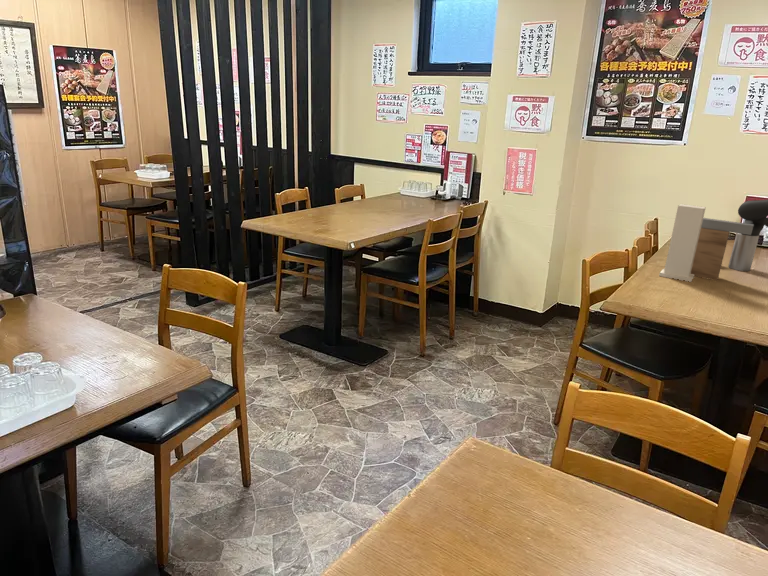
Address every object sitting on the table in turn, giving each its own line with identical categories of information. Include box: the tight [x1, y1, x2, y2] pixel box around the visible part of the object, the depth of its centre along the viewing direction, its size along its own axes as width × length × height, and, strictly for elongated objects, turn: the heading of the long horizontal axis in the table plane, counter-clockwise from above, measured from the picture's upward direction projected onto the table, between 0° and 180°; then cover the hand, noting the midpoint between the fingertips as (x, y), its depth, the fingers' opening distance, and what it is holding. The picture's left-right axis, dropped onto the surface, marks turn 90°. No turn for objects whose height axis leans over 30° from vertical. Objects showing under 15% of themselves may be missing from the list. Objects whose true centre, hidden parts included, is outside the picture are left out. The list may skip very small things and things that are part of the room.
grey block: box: [701, 217, 754, 235], centre depth 248 cm, size 4×24×4 cm, turn 55°
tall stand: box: [659, 203, 706, 283], centre depth 249 cm, size 9×13×32 cm
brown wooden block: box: [691, 228, 730, 281], centre depth 255 cm, size 6×18×22 cm, turn 55°
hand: (765, 220), depth 239 cm, fingers open, 8 cm apart
